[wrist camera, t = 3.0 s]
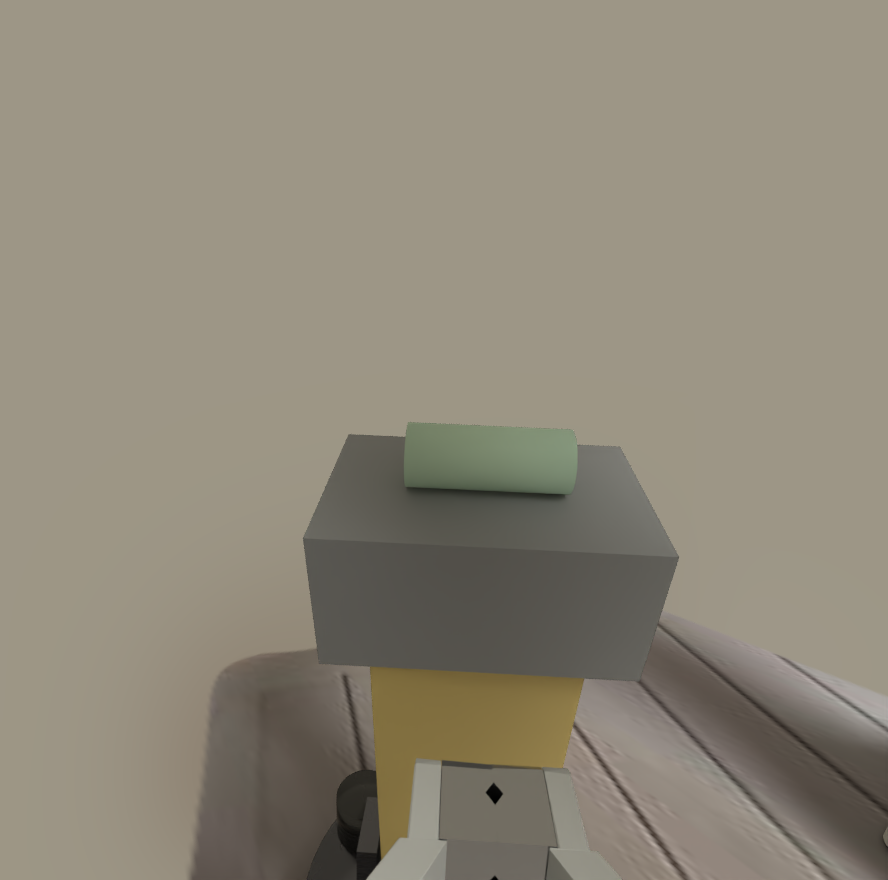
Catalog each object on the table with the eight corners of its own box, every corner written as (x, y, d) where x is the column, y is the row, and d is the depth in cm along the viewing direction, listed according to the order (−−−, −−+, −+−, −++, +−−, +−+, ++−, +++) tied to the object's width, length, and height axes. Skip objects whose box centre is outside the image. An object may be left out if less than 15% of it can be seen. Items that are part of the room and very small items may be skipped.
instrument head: (377, 758, 32) (356, 364, 20) (537, 767, 32) (616, 375, 20) (352, 924, 25) (295, 475, 13) (557, 938, 25) (699, 494, 13)
